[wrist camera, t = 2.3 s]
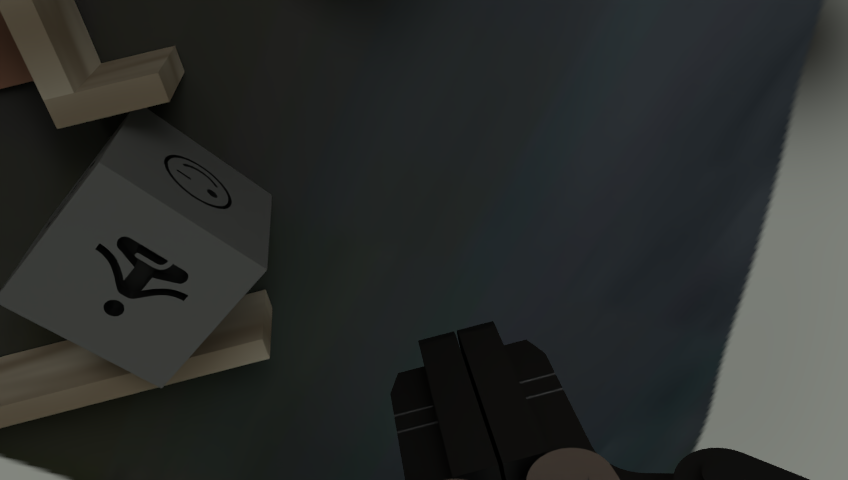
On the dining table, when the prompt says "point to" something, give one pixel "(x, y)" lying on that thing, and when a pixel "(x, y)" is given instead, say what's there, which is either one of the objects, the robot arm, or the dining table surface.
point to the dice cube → (145, 251)
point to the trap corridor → (78, 103)
